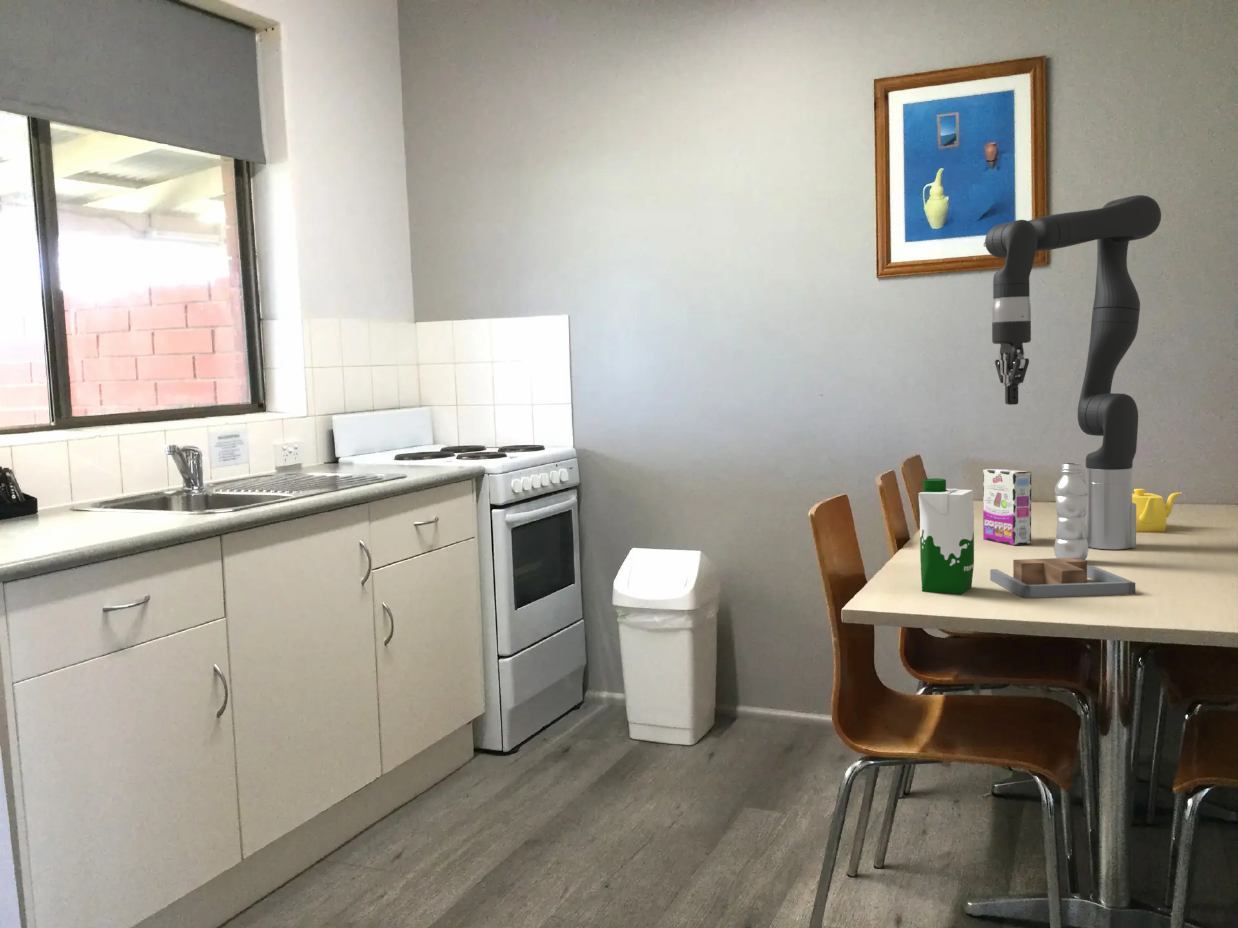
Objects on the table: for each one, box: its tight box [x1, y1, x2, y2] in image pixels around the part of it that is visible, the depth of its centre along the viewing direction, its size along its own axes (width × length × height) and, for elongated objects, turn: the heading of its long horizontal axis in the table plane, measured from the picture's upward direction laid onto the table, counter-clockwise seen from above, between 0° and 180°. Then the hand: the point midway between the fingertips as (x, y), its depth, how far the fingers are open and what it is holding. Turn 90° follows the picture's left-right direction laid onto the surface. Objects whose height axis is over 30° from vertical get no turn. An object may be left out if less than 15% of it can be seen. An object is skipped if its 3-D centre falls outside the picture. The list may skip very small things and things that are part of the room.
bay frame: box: [989, 565, 1136, 599], centre depth 192 cm, size 19×16×2 cm
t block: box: [1012, 557, 1088, 585], centre depth 192 cm, size 12×12×4 cm
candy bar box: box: [982, 468, 1032, 546], centre depth 241 cm, size 11×5×16 cm, turn 18°
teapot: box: [1132, 488, 1183, 533], centre depth 253 cm, size 15×14×10 cm
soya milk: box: [918, 478, 975, 595], centre depth 192 cm, size 9×9×20 cm
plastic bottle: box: [1053, 462, 1090, 561], centre depth 214 cm, size 6×7×20 cm
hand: (1011, 404), depth 220 cm, fingers closed
